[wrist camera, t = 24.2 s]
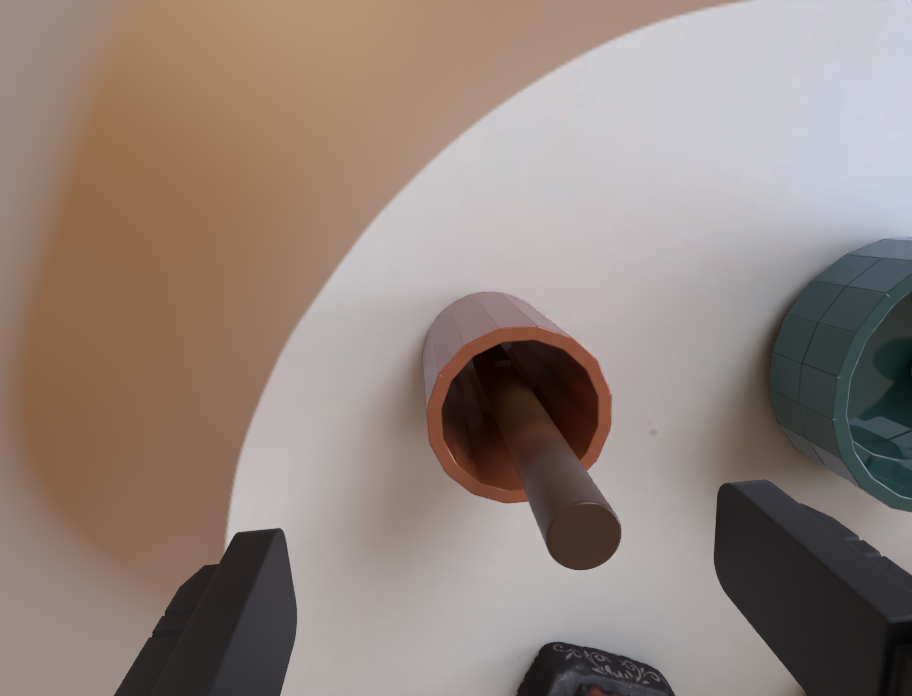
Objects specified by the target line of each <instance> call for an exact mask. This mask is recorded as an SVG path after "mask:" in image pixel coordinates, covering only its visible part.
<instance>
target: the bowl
mask: <svg viewBox="0 0 912 696" xmlns="http://www.w3.org/2000/svg"><path fill="white" fill-rule="evenodd" d="M911 367H912V237H906V238H892V239H883V240H880V241H878V242H875V243H873V244H870V245H868V246H865V247H863V248H860V249H858V250H855V251H853V252H850V253H848V254H846V255H844V256H843V257H841V258H840V259H839V260H838V261H836V262H835V263H834V264H832V265H831V266H830V267H829V268H827V269H826V270H825V271H823V272H822V273H821V274H820V275H818V276H817V277H816V278H814V279H813V280H812V281H811V282H810V283H809V285H808V286H807V287H806V289H805V290H804V291H803V293H802V294H801V295H800V297H799V298H798V299H797V301H796V302H795V303H794V305H793V306H792V307H791V309H790V310H789V311H788V313H787V315H786V316H785V319H784V321H783V324H782V327H781V329H780V332H779V334H778V337H777V339H776V342H775V345H774V347H773V350H772V358H771V371H770V383H769V392H770V395H771V399H772V403H773V407H774V411H775V415H776V419H777V422H778V424H779V425H780V427H781V428H782V429H783V431H784V432H785V434H786V435H787V436H788V438H789V439H790V441H791V442H792V444H793V445H794V446H795V448H796V449H797V450H799V451H800V452H802V453H803V454H805V455H806V456H808V457H809V458H811V459H812V460H814V461H815V462H817V463H819V464H820V465H822V466H823V467H825V468H826V469H828V470H830V471H831V472H833V473H835V474H836V475H838V476H839V477H841V478H843V479H844V480H846V481H848V482H849V483H851V484H853V485H854V486H856V487H857V488H859V489H861V490H862V491H864V492H866V493H867V494H869V495H870V496H872V497H874V498H875V499H877V500H879V501H880V502H882V503H883V504H885V505H887V506H888V507H890V508H893V509H898V510H903V511H907V512H912V375H911Z"/></svg>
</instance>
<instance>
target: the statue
mask: <svg viewBox="0 0 912 696" xmlns="http://www.w3.org/2000/svg"><path fill="white" fill-rule="evenodd" d="M539 653H540V654H539V656H538V657H537V658H535V662H534V663H533V665H532V666H531V668H530V670H529V671H528V673H526V675H525V678H524V682H523V683H522V684H521V685H520V687H519V689H518V695H517V696H675V694H674V692H673V691H672V689H671V687H670V686H669V684H668V682H667V680H666V679H665V678H664V676H663V675H662V674H661V673H660V672H659V671H658V670H656V669H654V668H653V667H651V666H649V665H647V664H644V663H640V662H637V661H634V660H631V659H630V658H627V657H624V656H617V655H615V654H611V653H608V652H604V651H601V650H598V649H594V648H588V647H580V646H576V645H572V644H566V643H562V642H554V643H549V644H546V645H545V646H544V647H543V648H542V649H541V650H540V652H539Z"/></svg>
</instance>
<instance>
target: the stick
mask: <svg viewBox="0 0 912 696" xmlns="http://www.w3.org/2000/svg"><path fill="white" fill-rule="evenodd" d="M473 366H474V368H475V371H476V373H477V376H478V378H479V381H480V383H481V386H482V388H483V391H484V393H485V396H486V398H487V400H488V403H489V405H490V408H491V410H492V413H493V415H494V418H495V420H496V423H497V425H498V428H499V430H500V433H501V435H502V437H503V440H504V442H505V445H506V447H507V450H508V452H509V455H510V457H511V460H512V462H513V465H514V467H515V470H516V472H517V475H518V477H519V479H520V482H521V484H522V487H523V489H524V492H525V494H526V497H527V499H528V502H529V504H530V507H531V509H532V512H533V514H534V517H535V519H536V521H537V524H538V526H539V529H540V531H541V534H542V536H543V539H544V541H545V544H546V546H547V549H548V551H549V553H550V555H551V556H552V557H553V559H554V560H555V561H557V562H558V563H559V564H561V565H563V566H564V567H567V568H570V569H574V570H587V569H591V568H595V567H597V566H599V565H601V564H603V563H604V562H606V561H607V560H608V559H609V558H610V557H611V556H612V555H613V554H614V553H615V551H616V550H617V548H618V546H619V543H620V539H621V525H620V521H619V519H618V517H617V515H616V514H615V512H614V511H613V509H612V508H611V506H610V505H609V503H608V502H607V501H606V499H605V498H604V496H603V495H602V493H601V492H600V490H599V489H598V487H597V486H596V484H595V483H594V481H593V480H592V478H591V477H590V476H589V474H588V473H587V471H586V470H585V468H584V467H583V465H582V464H581V462H580V461H579V459H578V458H577V456H576V455H575V453H574V452H573V450H572V449H571V448H570V446H569V445H568V443H567V442H566V440H565V439H564V437H563V436H562V434H561V433H560V431H559V430H558V428H557V427H556V425H555V424H554V423H553V421H552V420H551V418H550V417H549V415H548V414H547V412H546V411H545V409H544V408H543V406H542V405H541V403H540V402H539V400H538V399H537V397H536V396H535V395H534V393H533V392H532V390H531V389H530V387H529V386H528V384H527V383H526V381H525V380H524V378H523V377H522V375H521V374H520V372H519V371H518V369H517V368H516V367H515V365H514V364H513V362H512V361H511V359H510V357H509V356H508V354H507V353H506V352H505V350H504V349H503V347H502V346H501V344H498V345H496V346H494V347H492V348H490V349H488V350H486V351H484V352H482V353H480V354H478V355H476V356H474V357H473Z"/></svg>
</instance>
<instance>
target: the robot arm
mask: <svg viewBox="0 0 912 696" xmlns="http://www.w3.org/2000/svg"><path fill="white" fill-rule="evenodd" d="M714 564H715V570H716V574H717V577H718V580H719V582H720V584H721V586H722V588H723V590H724V592H725V593H726V594H727V596H728V597H729V598H730V599H731V601H732V602H733V603H734V604H735V605H736V607H737V608H738V609H739V610H740V612H741V613H742V614H743V615H744V617H745V618H746V619H747V620H748V622H749V623H750V624H751V625H752V626H753V628H754V629H755V630H756V631H757V633H758V634H759V635H760V636H761V638H762V639H763V640H764V641H765V642H766V644H767V645H768V646H769V647H770V649H771V650H772V651H773V652H774V654H775V655H776V656H777V657H778V658H779V660H780V661H781V662H782V663H783V665H784V666H785V667H786V668H787V670H788V671H789V672H790V673H791V674H792V676H793V677H794V678H795V679H796V681H797V682H798V683H799V684H800V686H801V687H802V688H803V689H804V690H805V692H806V693H807V694H808V695H809V696H912V576H911V575H910V574H909V573H907V572H906V571H905V570H903V569H902V568H900V567H899V566H898V565H896V564H895V563H894V562H892V561H891V560H890V559H888V558H887V557H886V556H883V557H881V555H880V552H879V551H877V550H876V549H875V548H873V547H872V546H871V545H869V544H868V543H867V542H865V541H864V540H861V541H860V540H859V538H858V536H857V535H856V534H854V533H853V532H852V531H850V530H849V529H848V528H846V527H845V526H844V525H842V524H841V523H840V522H838V521H837V520H835V519H834V518H832V517H830V516H828V515H826V514H823V513H821V512H819V511H817V510H815V509H812V508H810V507H808V506H806V505H803V504H799V503H797V502H796V501H795V500H794V499H792V498H791V497H790V496H788V495H787V494H786V493H784V492H783V491H782V490H781V489H779V488H778V487H777V486H775V485H774V484H773V483H771V482H770V481H768V480H753V481H744V482H734V483H725V484H723V485H722V486H721V487H720V489H719V491H718V496H717V511H716V528H715V546H714ZM296 627H297V607H296V598H295V592H294V586H293V580H292V574H291V568H290V562H289V556H288V550H287V544H286V539H285V535H284V532H283V530H282V529H281V528H276V529H267V530H257V531H247V532H238V533H236V534H235V536H234V537H233V539H232V541H231V543H230V544H229V546H228V548H227V550H226V552H225V554H224V556H223V557H222V559H221V561H220V563H219V564H215V565H205V566H203V567H202V568H201V569H200V570H199V571H198V572H197V573H195V574H194V575H193V576H192V577H191V578H190V579H189V580H187V581H186V582H185V583H184V584H183V585H182V586H181V587H180V588H179V589H178V591H177V593H176V594H175V596H174V598H173V599H172V601H171V602H170V604H169V606H168V607H167V609H166V611H165V616H162V617H161V619H160V621H159V622H158V624H157V625H156V627H155V629H154V630H153V632H152V633H153V635H152V637H150V638H149V639H148V640H147V642H146V644H145V645H144V647H143V648H142V650H141V652H140V653H139V655H138V657H137V658H136V660H135V662H134V663H133V665H132V667H131V668H130V670H129V672H128V673H127V675H126V676H125V678H124V680H123V681H122V683H121V685H120V686H119V688H118V690H117V691H116V693H115V695H114V696H280V694H281V690H282V686H283V683H284V679H285V675H286V671H287V668H288V664H289V660H290V656H291V653H292V649H293V645H294V641H295V636H296Z"/></svg>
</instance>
